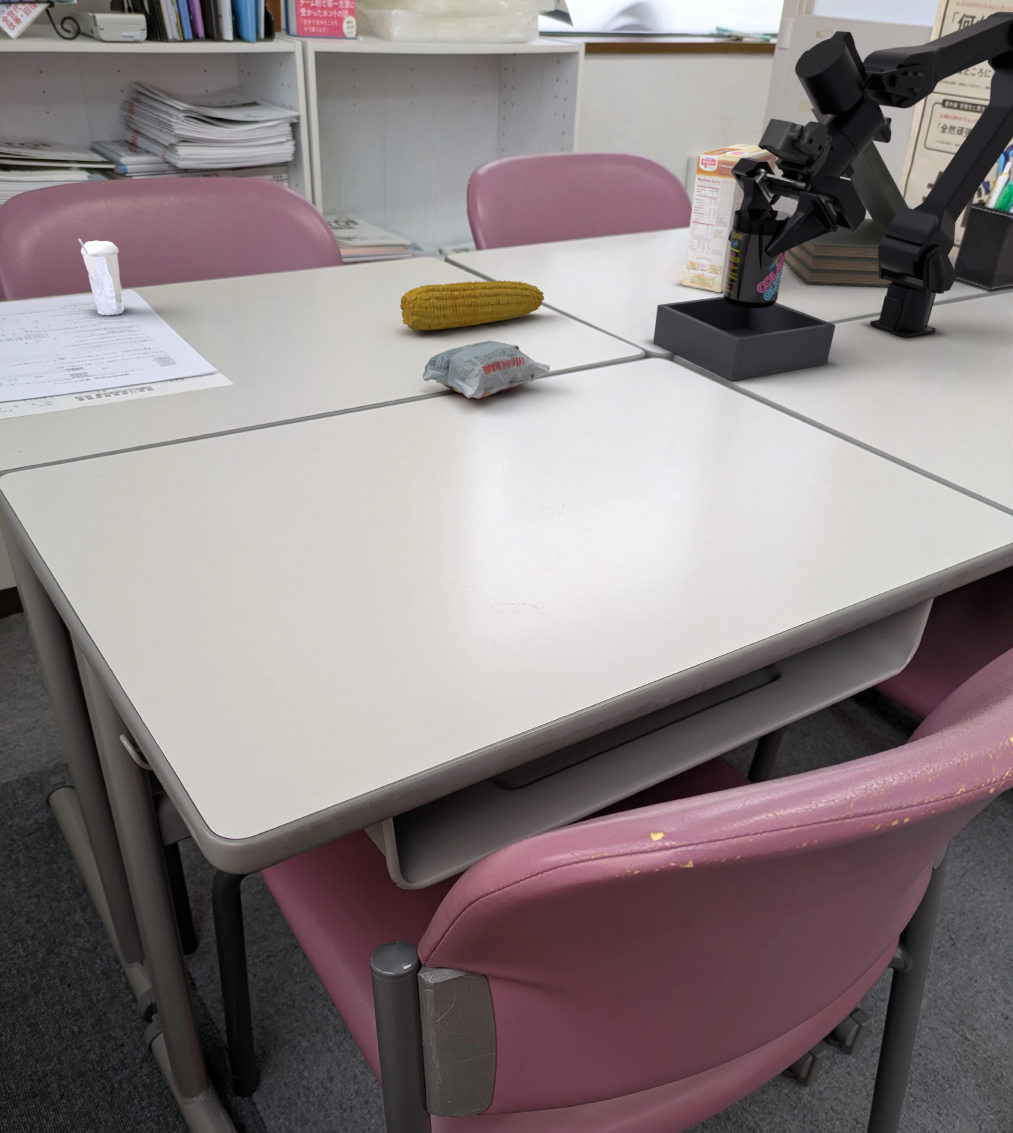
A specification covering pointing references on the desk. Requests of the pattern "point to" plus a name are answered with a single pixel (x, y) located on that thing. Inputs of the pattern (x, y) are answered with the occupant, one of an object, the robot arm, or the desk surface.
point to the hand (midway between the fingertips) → (748, 247)
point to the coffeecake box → (715, 214)
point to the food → (468, 304)
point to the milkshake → (104, 275)
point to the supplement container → (754, 258)
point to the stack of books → (857, 251)
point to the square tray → (742, 337)
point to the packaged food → (483, 368)
